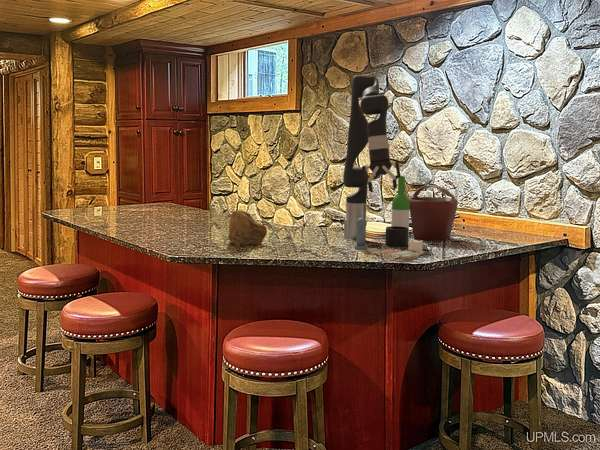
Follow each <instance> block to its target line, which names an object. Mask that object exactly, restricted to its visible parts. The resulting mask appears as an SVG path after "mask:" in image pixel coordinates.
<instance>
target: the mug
mask: <svg viewBox="0 0 600 450" xmlns="http://www.w3.org/2000/svg"><path fill="white" fill-rule="evenodd" d="M384 243H385V245H384V246H386V247H387V248H388V247H389V248H406V247H407V248H408V245H409V241H408V228H407V227H399V226H391V225H390V226H386V227H385V240H384Z"/></svg>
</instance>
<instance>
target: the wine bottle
mask: <svg viewBox="0 0 600 450" xmlns="http://www.w3.org/2000/svg"><path fill="white" fill-rule="evenodd" d="M405 186H406V176H405V175H401V177H400V178H398V179H397V194H396V195H395V196H394V197H393V199H392V202H391V221H390V222H391V224H390V227H391V226H399V227H407V228H408V242H409V241H410V239H409V238H410V237H409V236H410V202H409V197H408V196H407V195H406V193H405V192H406V187H405Z"/></svg>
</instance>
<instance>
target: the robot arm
mask: <svg viewBox="0 0 600 450" xmlns="http://www.w3.org/2000/svg"><path fill="white" fill-rule="evenodd" d="M350 98H351V99H350V100H351V101H350V115H349V117H350V118H349V125H348V132H347V145H346V158H345V162H344V168H343V169H344V170H343V177H342V178H343V179H342V181H343V186H344V187H346V188H349V189H350V188H353V189H354V188H356V189H357V188H358V190H357V191H356V192H354V193H352V194H349V195H347V196H346V198H345V202H346V203H345V218H344V219H343V239H344V240H354V241H357V226H356V221H357V220H358V219H359V218H364V219H365V220H366V221H367V200H368V191H369V192H370V193H373V192H374V191H373V183H372V181H373V179H374V178H375V176H386V175H388V176H389V177H390V178H391V179H392V180H391V181H392V189H393V191H395V190H396V189H398V178H400V177H401V176H402V175H401V170H400V164H399V162H398V161H395V162H391V158H390V157H391V156H390V155H391V154H390V147H389V140H388V134H387V115H388V109H389V104H390V103H389V99H388V97H387V96H386V95H384V94H380V82H379V79H378V77H376V76H374V75H364V74H363V75H361V74H358V75H354V76H353V78H352V82H351V97H350ZM360 98H361V101H360V100H359V99H360ZM359 101H360V102H359ZM374 115H379V117H378V118H377V119H373V120H371V121H368V120H367V117H366V116H374ZM367 146H368V147H367ZM366 147H367V148H368V154H369V155H368V156H369V165H362V166H354V164H355V162H356V160H357V158H358V157H359V155H360V154H361V153H362V152H363V150H364V149H365V148H366ZM392 167H393V168H394V169H396V170H395V171H396V175H394V173H392V171H390V170H391V168H392ZM369 169H370V170H371V174H370V176H369V171H368V170H369Z"/></svg>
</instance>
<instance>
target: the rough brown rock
mask: <svg viewBox="0 0 600 450" xmlns="http://www.w3.org/2000/svg"><path fill="white" fill-rule="evenodd" d="M228 226H229V227H228V237H227V238H228V240H229V241H230V242H232V243H233V244H234V245H235V246H236V247H239V246H241V245H242V246H246V245H247V246H248V245H251V244H253V245H255V246H260V245H261V244H262V243H263V241H264V239H265V238H266V236H267V234H268V231H267V227H266V226H265V225H264V224H262V223H257V222H256V221H255V219H254V218H253V217H252V215H251V214H250V213H249V212H247V211H245V210H240V209H238V210H233V211H232V212H231V214H230V219H229V225H228Z"/></svg>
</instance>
